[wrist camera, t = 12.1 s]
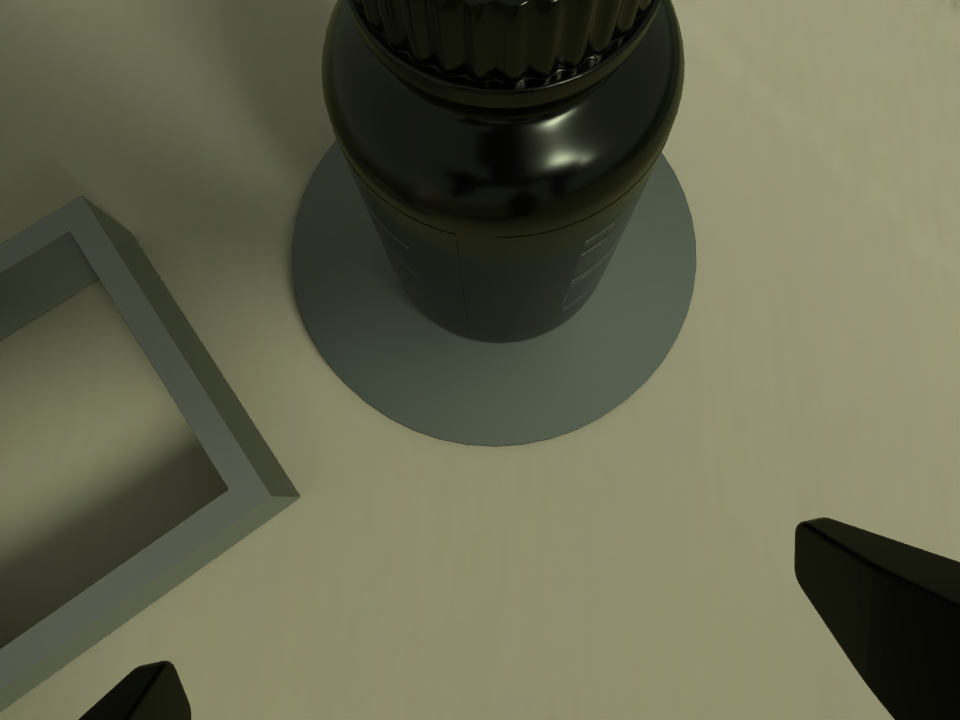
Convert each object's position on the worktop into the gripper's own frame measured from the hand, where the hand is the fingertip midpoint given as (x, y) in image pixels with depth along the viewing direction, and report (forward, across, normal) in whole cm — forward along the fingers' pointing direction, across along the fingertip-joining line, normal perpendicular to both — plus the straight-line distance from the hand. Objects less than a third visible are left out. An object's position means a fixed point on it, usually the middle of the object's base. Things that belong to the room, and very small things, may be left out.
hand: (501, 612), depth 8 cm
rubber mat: (+13, -2, -3) cm, 13 cm away
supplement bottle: (+12, -2, -3) cm, 13 cm away
